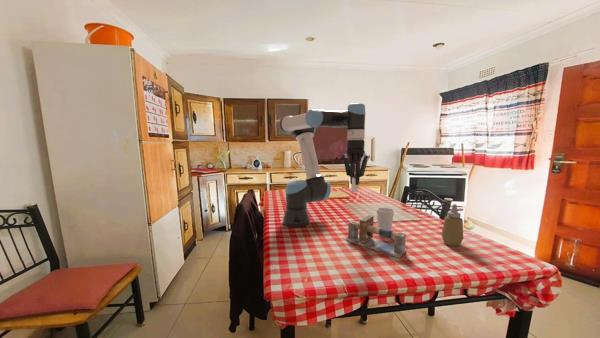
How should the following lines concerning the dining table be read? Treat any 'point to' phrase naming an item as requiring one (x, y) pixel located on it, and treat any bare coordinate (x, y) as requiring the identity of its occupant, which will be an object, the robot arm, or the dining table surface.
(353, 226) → the rail
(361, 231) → the collar
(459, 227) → the squeeze bottle
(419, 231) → the dining table surface
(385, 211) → the cup
